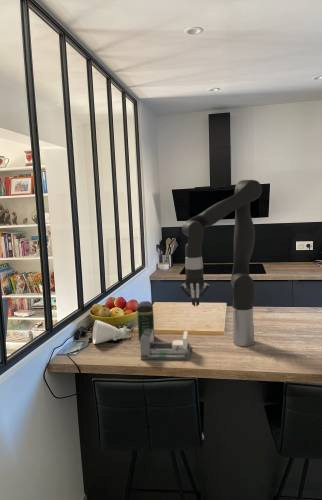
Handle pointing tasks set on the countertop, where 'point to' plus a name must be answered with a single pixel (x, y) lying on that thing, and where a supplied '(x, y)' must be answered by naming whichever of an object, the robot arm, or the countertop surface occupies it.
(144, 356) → the frame
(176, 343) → the cream t-shaped handle
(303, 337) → the countertop surface
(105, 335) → the funnel
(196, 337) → the countertop surface
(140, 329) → the coffee jar
